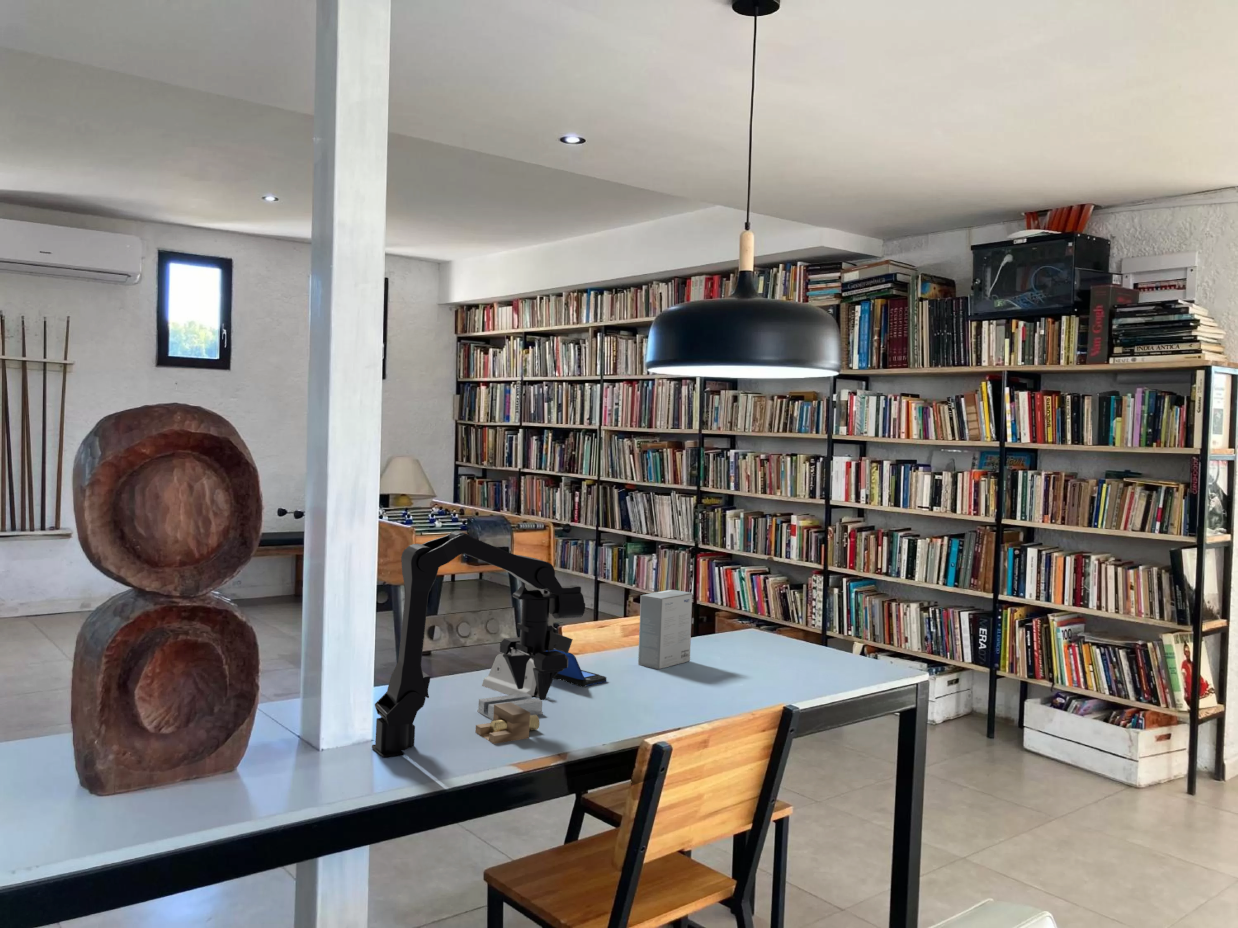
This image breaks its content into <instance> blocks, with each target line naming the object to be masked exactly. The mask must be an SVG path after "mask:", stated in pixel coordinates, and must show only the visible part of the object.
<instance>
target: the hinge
mask: <svg viewBox="0 0 1238 928" xmlns="http://www.w3.org/2000/svg"><path fill="white" fill-rule="evenodd" d="M503 654H504V653H498V654H497V655H496V657H495V658H494V661H493V663H492V666H491V669H490V671H489V673H488V675H487V676H485V678H483V680H482V684H481V687H484V688H487V689H490V690H492V691H495V692H498V693H502V694H503V695H506V696H507V695H515V694H523V693H527V694H529V695H531V696H532V697H535V698H539V695H538V691H537V686H536V681H535V677H534V672H533V668H536V667H535V665H534V663H533V661H534V658H532V657H531V658H530V659H529V661H528V662H527V665H526V673H525V680H524V685H523V689H518V688H517V686H516V683H515V681H514V678H513V676H512V673H511V671H510V669H509V667H508V664H507V662H506V660H505V658H504V657H503Z"/></svg>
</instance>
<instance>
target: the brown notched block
mask: <svg viewBox="0 0 1238 928" xmlns="http://www.w3.org/2000/svg"><path fill="white" fill-rule="evenodd" d="M502 719H505V720H506V721H507V730H506V731H499V732H493V733H491V732H490V723H491V722H486V723H479V724H475V733H476V734H477V735H479V737H482V738H483V739H485V740H486V741H488V742H490V743H491V744H493V745H495V744H502V743H507V742H513V741H519V740H526V739H530V731H529V725H530V712H528V711H526V710H524V709H523V708H521V707H519V706H517V705H515V704H513V703H511V702H510V703H503V704H496V705H494V716H493V720H492V721H496V720H502Z"/></svg>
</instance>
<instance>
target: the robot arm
mask: <svg viewBox="0 0 1238 928" xmlns="http://www.w3.org/2000/svg"><path fill="white" fill-rule="evenodd" d="M462 554H465V555H466V556H469V557H472V558H473V559H477V560H479V561H482V562H484V563H487V564H489V565H491V566H495V567H497V568H500V569H502V570H504V571H506V572H508V573H509V575H511V576H513V577H514V578H516V579H517V580H519V581H521V582H522V583H524V584H526V585H527V586H530V587H533V588H536V589H527V588H526V587H525V586H522V585H521V586H519V588H518V589H517V590H515V591H514V592H513V593H512V598H515V599H517V600H521V615H520V622H517V623H516V629H518V630H520V634H519V635H520V636H519V637H517V636H516V637H508V638H507V637H505V638H503V639H502V640H501V641H500V644H499V652H500V653H501V654H503V653H504V654H503V657H504V658H505V660H506V662H507V664H508V667H509V669H510V671H511V673H512V676H513V678H514V681H515V683H516V686H517V688H518V689H523V685H524V680H525V673H526V665H527V662H528V661H529V659H530V658H532V659H534V661H533V663H534V665H535V667H536V668H533V672H534V677H535V681H536V686H537V691H538V695H539V697H538V699H539V700H541V701H544V700H546V698H547V696H548V693H549V690H550V688H551V685H552V682H553V681H554V676H555V675H556V674H557V673H558V672H559V671H563V670H564V668H568V657H567V656H566V655H565V654H563V653H561V652H558V651H553V650H554V649H557V650H560V651H564V652H565V653H568V652H569V653H570V648H571V646H572V642H573V641H574V640H573V638H570V637H567V636H565V635H562V634H559V631H558V630H559V629H558V628H555V627H553V625H552V624H549V621H550V620H549V619H550V615H552V618H554V619H555V620H557V619H573V618H582V617H583V616H584V614H585V611H586V603H585V599H584V595H583V593H582V587H581V586H580V585H569V586H567V585H566V586H562V585H561V583H560V582H559V580H558V579H557V577H556V570H555V568H554V565H553V564H552V563H550V562H549V561H545V560H542V559H540V558H539V559H538V558H535V557H531V556H526V555H519V554H515V553H512V552H508V551H506V550H504V549H501V548H499V547H497V546H494V545H493V544H490V543H487V542H485V541H482V540H480V539H477V538H475V537H472V536H471V535H469V534H468V533H466V532H462V531H458V530H455V531H452V532H450V533H448V534H447V535H444V536H441V537H438V538H434V539H432V540H429V541H426V542H423V543H421V544H420V543H412V544H410V545H408V546H407V547H406V548H405V549H404V550H403V551H402V553H401V557H400V558H401V559H400V560H401V574H402V578H403V584H404V589H405V592H404V593H405V594H404V605H403V612H402V613H403V614H402V623H401V629H400V630H401V631H400V640H399V641H400V643H399V649H398V650H399V651H398V657H397V658H398V659H397V664H396V666H395V668H394V669H393V671H392V673H391V676H390V679H389V682H388V687H387V691H386V692H385V693H384V694H383V695H382V696H381V697H380V698H379V699H378V700H377V701H376V702H375V703H374V707H375V710H376V714H377V715H379V716H380V717H377V718H376V723H375V744H372V745H371V749H372V750H374V752H376V753H378V754H379V755H380V756H381V757H383V758H388V757H393V756H400V755H405V754H406V753H405V752H404V751H406V750H407V749H410V748H412V747H414V746H415V737H416V726H415V724H414V721H415V719H416V717H417V714H418V711H420V710H421V709H423V707H424V706H425V702H426V698H427V699H429V698H430V696H429V686H430V682H431V676H430V675H429V674H427V673H426V672H425V671H423V668H422V658H423V650H424V642H425V632H426V623H427V622H426V620H427V611H428V603H429V595H430V592H431V590H432V587H433V586H434V583H435V582H436V580H437V575H438V571H439V568H441V567H442V566H444V565H447V564H449V563H450V562H451V561H453V560H455V558H457V557H458V556H461V555H462ZM541 590H543V591H546V592H549V593H542V591H541ZM547 650H548V652H546V651H547Z"/></svg>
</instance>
